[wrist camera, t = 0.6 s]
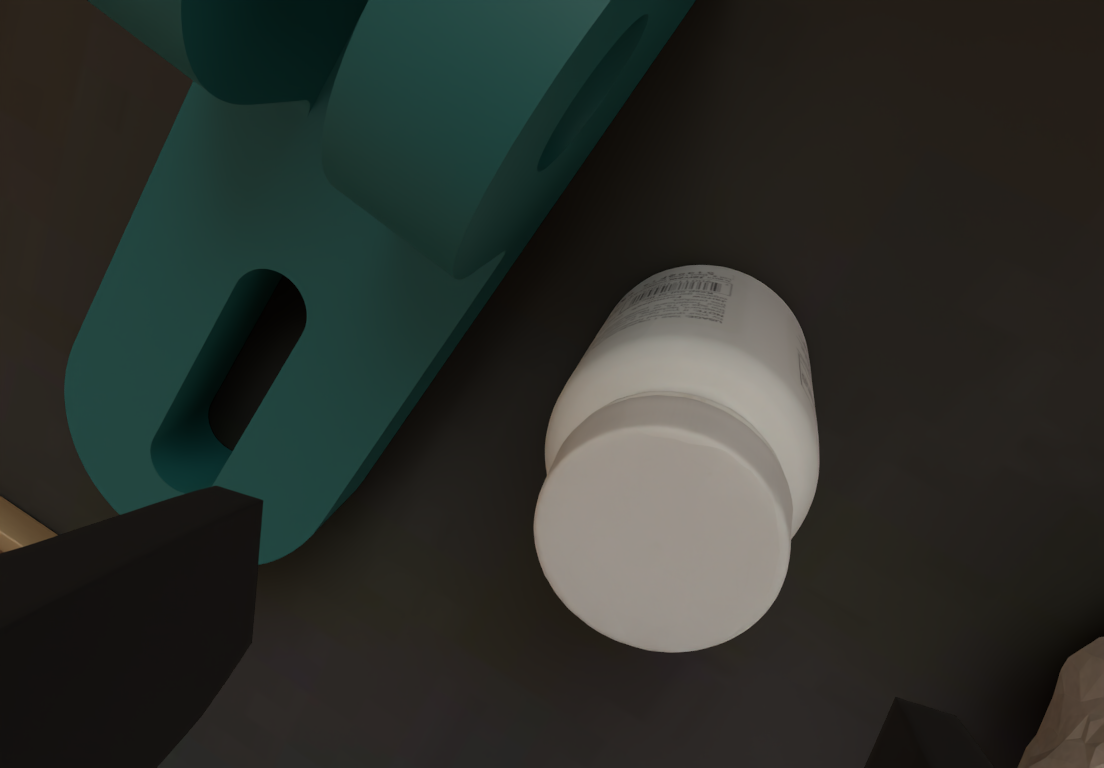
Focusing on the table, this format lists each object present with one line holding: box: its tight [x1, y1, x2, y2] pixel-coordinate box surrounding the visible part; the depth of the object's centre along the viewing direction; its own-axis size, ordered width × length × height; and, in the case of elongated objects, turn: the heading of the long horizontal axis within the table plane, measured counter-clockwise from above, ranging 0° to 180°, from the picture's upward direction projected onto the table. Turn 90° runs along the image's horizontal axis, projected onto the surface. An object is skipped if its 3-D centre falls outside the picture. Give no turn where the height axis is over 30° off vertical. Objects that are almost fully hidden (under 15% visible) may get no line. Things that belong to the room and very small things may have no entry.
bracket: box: [64, 0, 696, 565], centre depth 16 cm, size 18×7×8 cm, turn 145°
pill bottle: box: [534, 265, 819, 653], centre depth 15 cm, size 4×4×8 cm
